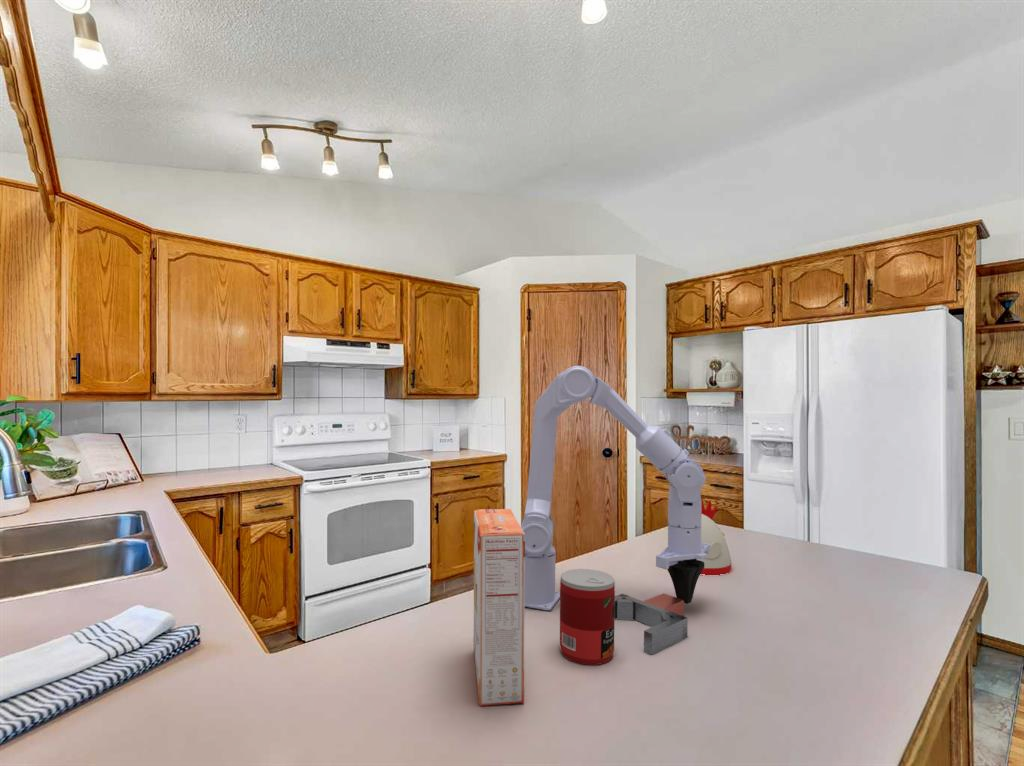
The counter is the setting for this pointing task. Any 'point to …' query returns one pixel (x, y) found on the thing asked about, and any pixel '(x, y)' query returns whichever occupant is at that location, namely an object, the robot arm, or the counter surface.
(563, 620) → the canned food
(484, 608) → the cracker box
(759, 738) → the counter surface
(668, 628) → the clamp
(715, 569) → the kitchen timer
